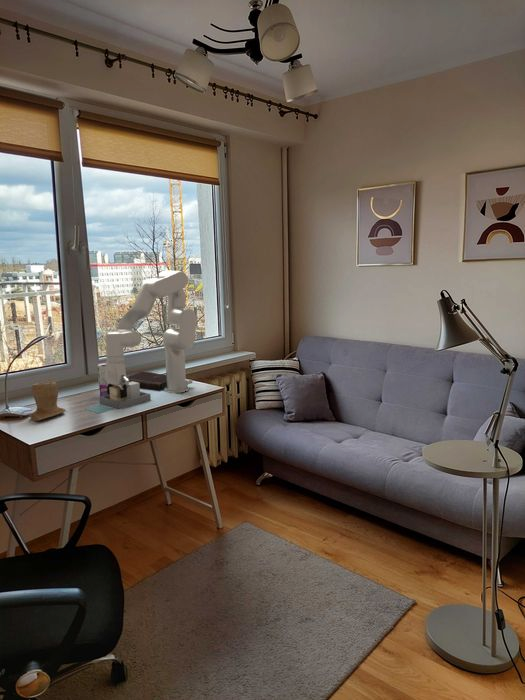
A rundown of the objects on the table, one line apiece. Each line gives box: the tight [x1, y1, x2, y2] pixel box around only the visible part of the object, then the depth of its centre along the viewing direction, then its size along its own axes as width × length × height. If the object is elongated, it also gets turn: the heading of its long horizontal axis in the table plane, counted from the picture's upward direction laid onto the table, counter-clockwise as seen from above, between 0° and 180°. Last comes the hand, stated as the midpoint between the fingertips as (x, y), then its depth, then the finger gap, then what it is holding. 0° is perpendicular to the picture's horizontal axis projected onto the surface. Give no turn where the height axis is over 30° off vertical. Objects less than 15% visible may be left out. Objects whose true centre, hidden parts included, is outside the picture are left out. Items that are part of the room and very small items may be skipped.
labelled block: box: [109, 385, 126, 402], centre depth 228 cm, size 5×5×8 cm
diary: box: [126, 370, 167, 392], centre depth 263 cm, size 19×25×5 cm
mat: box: [84, 404, 114, 415], centre depth 221 cm, size 8×10×1 cm
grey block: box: [126, 381, 141, 400], centre depth 234 cm, size 5×5×8 cm
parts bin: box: [99, 390, 152, 410], centre depth 232 cm, size 18×15×4 cm
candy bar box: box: [96, 362, 123, 398], centre depth 242 cm, size 11×5×16 cm, turn 112°
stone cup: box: [28, 381, 67, 422], centre depth 212 cm, size 15×12×15 cm
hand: (117, 395), depth 228 cm, fingers open, 9 cm apart
